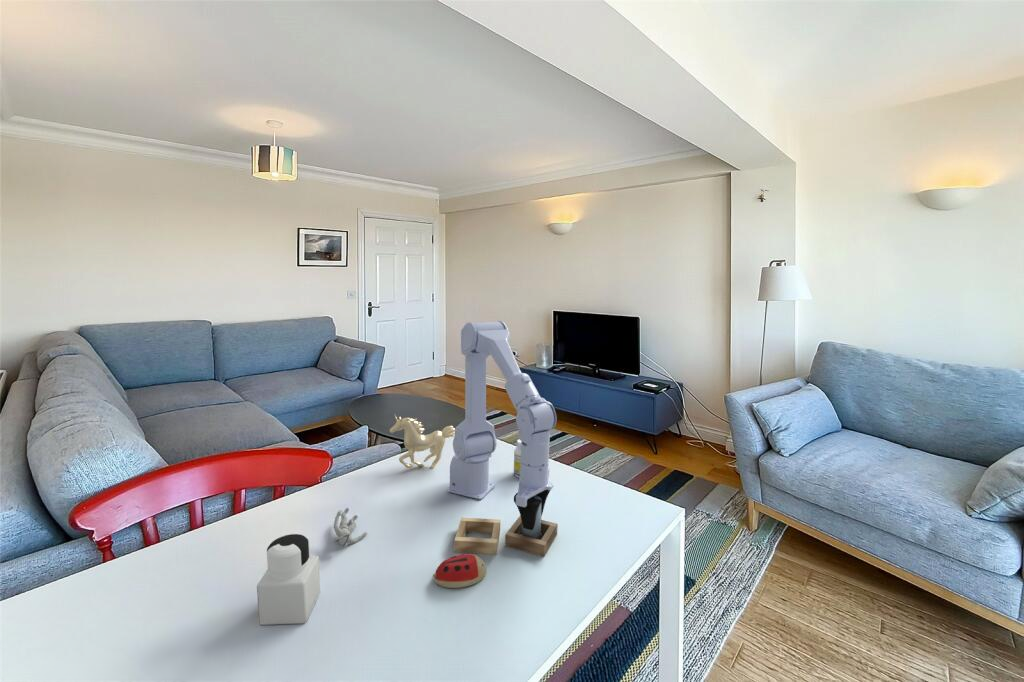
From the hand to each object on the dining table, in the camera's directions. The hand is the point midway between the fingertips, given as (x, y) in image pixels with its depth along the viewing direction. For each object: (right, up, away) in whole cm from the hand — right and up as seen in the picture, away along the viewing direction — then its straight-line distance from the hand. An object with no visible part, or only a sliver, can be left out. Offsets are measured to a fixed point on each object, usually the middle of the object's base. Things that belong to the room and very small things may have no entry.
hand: (532, 522), depth 95 cm
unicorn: (-29, +2, +34) cm, 45 cm away
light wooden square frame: (-11, -4, 0) cm, 12 cm away
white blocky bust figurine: (-40, -6, -20) cm, 46 cm away
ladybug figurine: (-14, -6, -11) cm, 19 cm away
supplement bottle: (-1, +1, +31) cm, 31 cm away
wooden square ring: (0, -4, +1) cm, 4 cm away
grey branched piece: (-39, -3, 0) cm, 39 cm away
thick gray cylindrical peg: (0, -3, +1) cm, 3 cm away
